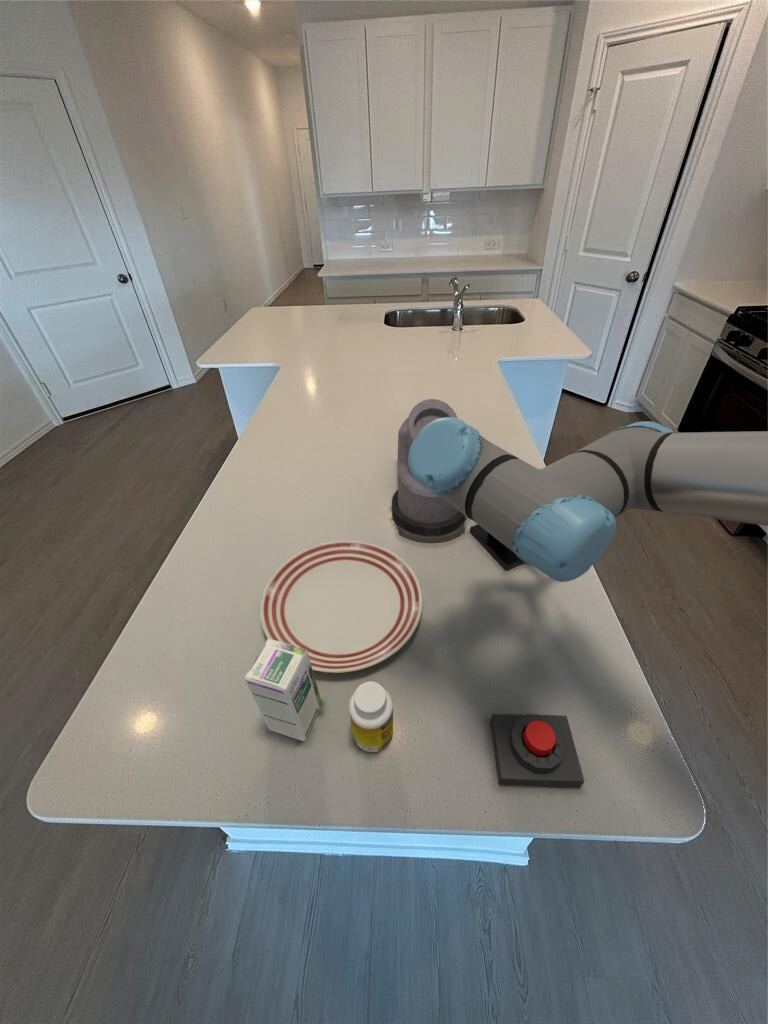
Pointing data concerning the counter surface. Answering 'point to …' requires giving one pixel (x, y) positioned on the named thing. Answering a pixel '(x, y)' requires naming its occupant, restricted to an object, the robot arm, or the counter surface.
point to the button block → (527, 767)
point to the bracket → (496, 548)
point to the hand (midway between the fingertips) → (558, 537)
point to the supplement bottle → (371, 717)
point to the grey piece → (414, 504)
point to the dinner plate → (343, 604)
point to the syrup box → (285, 689)
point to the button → (539, 738)
